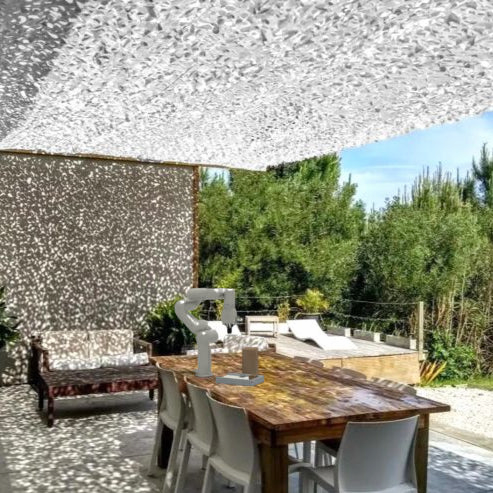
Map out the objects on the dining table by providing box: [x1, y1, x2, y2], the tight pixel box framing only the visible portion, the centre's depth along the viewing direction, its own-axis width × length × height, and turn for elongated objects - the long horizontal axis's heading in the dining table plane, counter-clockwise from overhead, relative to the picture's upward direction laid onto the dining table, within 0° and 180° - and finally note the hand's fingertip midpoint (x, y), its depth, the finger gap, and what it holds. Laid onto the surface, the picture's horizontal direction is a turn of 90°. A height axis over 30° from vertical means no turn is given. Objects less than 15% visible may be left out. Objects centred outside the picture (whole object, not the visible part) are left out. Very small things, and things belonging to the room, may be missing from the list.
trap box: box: [215, 372, 265, 387], centre depth 421 cm, size 27×18×4 cm, turn 64°
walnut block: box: [249, 374, 259, 380], centre depth 418 cm, size 4×4×3 cm
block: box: [241, 346, 259, 375], centre depth 444 cm, size 10×10×20 cm
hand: (229, 333), depth 433 cm, fingers closed
